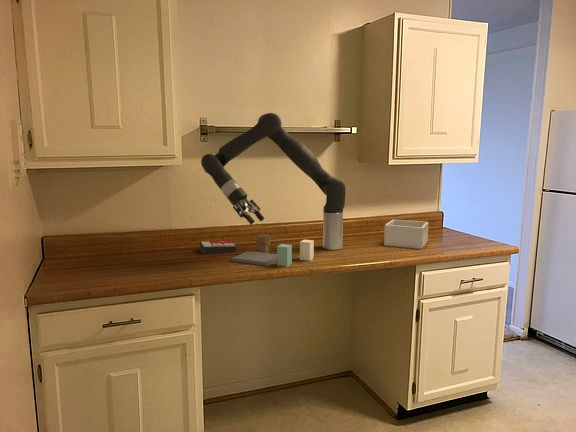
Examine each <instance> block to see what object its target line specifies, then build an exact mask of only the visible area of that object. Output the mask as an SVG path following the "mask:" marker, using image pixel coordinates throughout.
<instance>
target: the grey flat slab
mask: <svg viewBox="0 0 576 432" xmlns="http://www.w3.org/2000/svg"><path fill="white" fill-rule="evenodd" d="M231 259H232V261H231V262H234V263H241V264H250V265H257V266H265V267H266V266H268V265H270V264H272V263H273V262H274V263H275V262H276V261H277V253H271V252H270V253H263V252H257V251H254V250H253V251H252V250H247V251H245V252H243V253H241V254H238V255H235V256H234V257H231Z"/></svg>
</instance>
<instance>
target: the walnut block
mask: <svg viewBox="0 0 576 432" xmlns="http://www.w3.org/2000/svg"><path fill="white" fill-rule="evenodd" d="M256 252H263V253H271V235H270V234H262V233H261V234H259V235H257V236H256Z"/></svg>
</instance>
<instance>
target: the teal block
mask: <svg viewBox="0 0 576 432" xmlns="http://www.w3.org/2000/svg"><path fill="white" fill-rule="evenodd" d="M276 247H277V249H276V254H277V260H276V261H277V263H276V265H277V266H278V267H279V266H281V267H289V266H291V265H292V264H293V262H292V261H293V258H292V257H293V244H285V243H280V244H279V245H277V246H276Z"/></svg>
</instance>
